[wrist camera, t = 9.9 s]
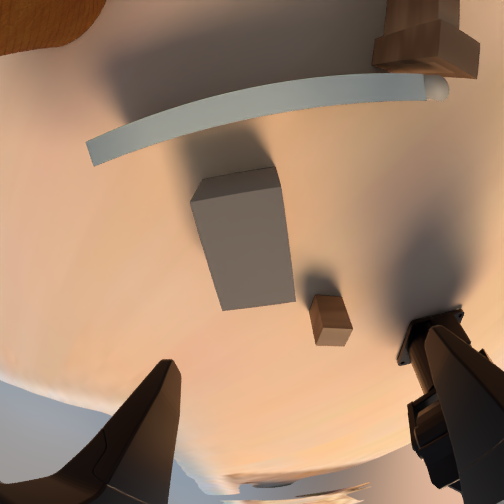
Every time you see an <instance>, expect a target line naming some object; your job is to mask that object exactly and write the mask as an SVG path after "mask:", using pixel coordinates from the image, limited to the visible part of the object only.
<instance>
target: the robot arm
mask: <svg viewBox="0 0 504 504" xmlns="http://www.w3.org/2000/svg"><path fill="white" fill-rule="evenodd" d="M463 316H464V312H463V310H462V309H459V310H455V311H451V312H447V313H443V314H439V315H435V316H431V317H426V318H422V319H417V320H414V321H412V322H411V323H410V325H409V329H408V332H407V335H406V338H405V341H404V344H403V347H402V349H401V352H400V355H399V358H398V360H397V363H398V365H399V366H402V365H406V364H410V363H412V366H413V368H414V371H415V373H416V375H417V378H418V380H419V383H420V385H421V388H422V390H423V393H424V395H423V396H421V397H420V398H418V399H417V400H415V401H414V402H411V403H409V404H407V407H408V418H409V426H410V435H411V443H412V448H413V450H414V451H416V453H417V455H418V456H419V457H420V458H421V460H423V461H424V462H425V464H426V466H427V469H428V472H429V475H430V479H431V482H432V484H434V485H435V486H436V487H437V488H439V489H442V488H444V487H446V486H448V487H450V488H452V489H454V490H456V491H458V492H460V493H461V494H462V497H463V501H464V504H504V371H502V370H501V369H500V368H499V367H497V366H496V365H495V364H493V362H492V360H491V359H490V357H489V356H488V355H487V353H486V352H485V350H484V349H483V348H482V349H481V350H480V351H479V352H478V351H476V350H475V349H474V348H472V346H471V345H470V344H471V341H470V339H469V338H468V336H467V334H466V333H465V331H464V329H463V328H462V326H461V325H460V323H461V320H462V318H463ZM180 397H181V373H180V371H179V369H178V368H177V366H176V364H175V362H174V361H173V360H172V359H162V360H161V361H160V362H159V363H158V364H157V365H156V366H155V367H154V369H153V370H152V371H151V372H150V373H149V374H148V376H147V377H146V378H145V379H144V380H143V381H142V383H141V384H140V385H139V386H138V387H137V388H136V389H135V391H134V392H133V393H132V394H131V395H130V396H129V398H128V399H127V400H126V401H125V402H124V403H123V405H122V406H121V407H120V408H119V409H118V410H117V412H116V413H115V414H114V415H113V416H112V418H111V419H110V420H109V421H108V422H107V423H106V424H105V426H104V427H103V428H102V429H101V430H100V431H99V432H98V434H97V435H96V436H95V437H94V438H93V439H92V440H91V441H90V442H89V443H88V444H87V445H86V447H84V448H83V449H82V450H81V451H80V452H79V453H78V454H77V455H76V456H75V457H74V458H73V459H72V460H70V461H69V462H68V463H67V464H66V465H65V466H64V467H63V468H62V469H60V470H59V471H58V472H57V473H55V474H53V475H50V476H48V477H44V478H39V479H34V480H29V481H24V482H18V483H12V484H4V483H2V482H1V481H0V504H168V496H169V488H170V480H171V472H172V464H173V458H174V451H175V444H176V437H177V431H178V424H179V417H180Z"/></svg>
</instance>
